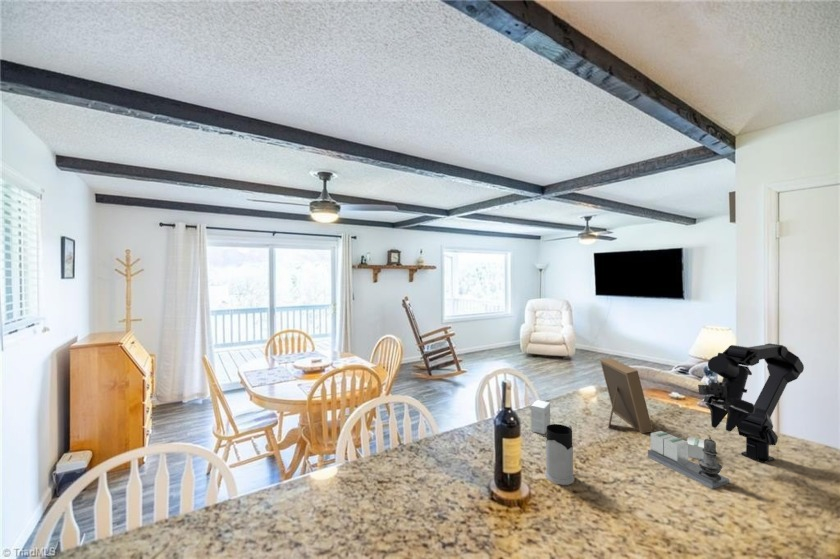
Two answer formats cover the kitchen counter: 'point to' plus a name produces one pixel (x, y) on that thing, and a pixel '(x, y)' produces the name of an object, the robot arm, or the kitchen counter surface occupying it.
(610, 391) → the photo frame
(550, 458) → the glass holder
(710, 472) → the dark grey tall piece
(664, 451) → the rail
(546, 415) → the small box
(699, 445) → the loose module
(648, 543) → the kitchen counter surface
